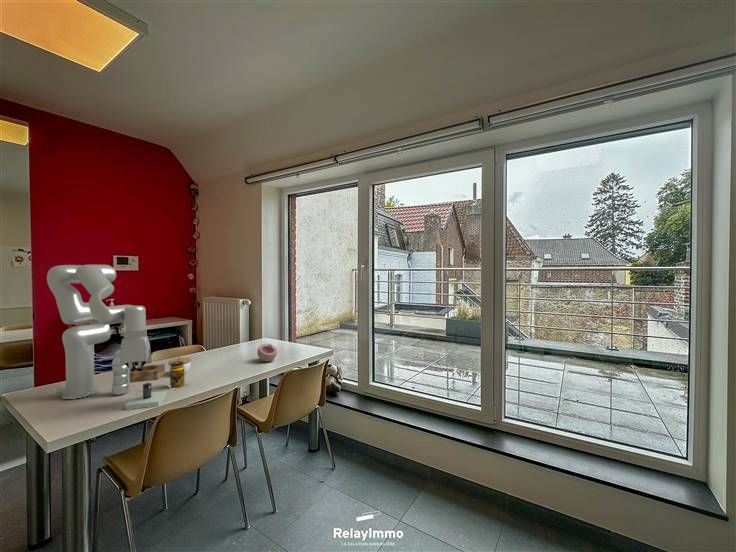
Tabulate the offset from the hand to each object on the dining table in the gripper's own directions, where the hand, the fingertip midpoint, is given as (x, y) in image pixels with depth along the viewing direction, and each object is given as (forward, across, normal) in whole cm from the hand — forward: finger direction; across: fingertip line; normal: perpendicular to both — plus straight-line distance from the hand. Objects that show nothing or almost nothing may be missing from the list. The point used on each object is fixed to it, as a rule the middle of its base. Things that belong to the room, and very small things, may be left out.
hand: (136, 376), depth 136 cm
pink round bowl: (+12, +54, +50) cm, 74 cm away
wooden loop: (+1, +4, 0) cm, 4 cm away
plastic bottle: (+11, -11, +14) cm, 22 cm away
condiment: (+12, +11, +18) cm, 24 cm away
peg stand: (+12, +4, 0) cm, 12 cm away
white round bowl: (+12, +8, +38) cm, 40 cm away
